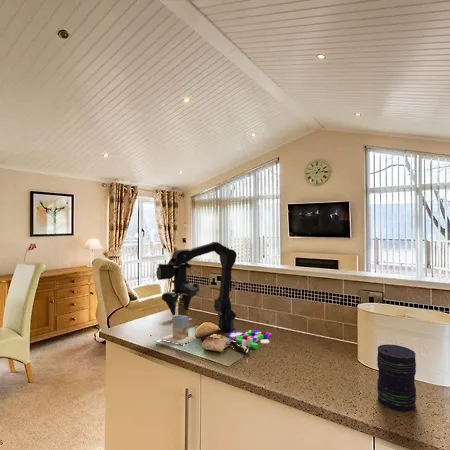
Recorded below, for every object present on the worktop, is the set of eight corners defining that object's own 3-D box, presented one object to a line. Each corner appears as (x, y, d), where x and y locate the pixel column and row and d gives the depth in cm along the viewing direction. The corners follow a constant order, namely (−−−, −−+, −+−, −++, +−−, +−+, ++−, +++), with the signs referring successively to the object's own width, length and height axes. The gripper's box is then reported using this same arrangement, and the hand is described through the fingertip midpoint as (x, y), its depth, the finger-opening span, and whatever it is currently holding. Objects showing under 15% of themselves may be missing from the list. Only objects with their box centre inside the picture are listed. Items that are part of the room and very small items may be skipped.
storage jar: (405, 394, 96) (405, 344, 96) (423, 413, 87) (423, 358, 87) (371, 393, 97) (371, 344, 97) (385, 411, 87) (385, 357, 87)
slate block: (188, 326, 145) (188, 316, 145) (181, 329, 140) (181, 318, 141) (179, 324, 147) (179, 314, 147) (172, 327, 143) (172, 317, 143)
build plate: (199, 337, 146) (199, 335, 146) (183, 345, 136) (183, 343, 136) (178, 333, 152) (178, 330, 152) (161, 340, 142) (161, 338, 142)
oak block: (179, 334, 147) (179, 324, 147) (188, 336, 145) (188, 326, 145) (172, 337, 143) (172, 327, 143) (181, 339, 140) (181, 329, 140)
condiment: (192, 319, 175) (192, 297, 175) (179, 322, 169) (179, 299, 169) (184, 316, 180) (184, 295, 180) (171, 319, 174) (171, 297, 174)
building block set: (246, 329, 159) (246, 320, 159) (281, 339, 145) (281, 329, 145) (209, 342, 141) (209, 332, 141) (245, 355, 127) (245, 344, 127)
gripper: (182, 282, 132) (181, 320, 132) (206, 276, 148) (206, 310, 148) (161, 280, 137) (161, 316, 137) (187, 274, 154) (186, 307, 153)
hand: (180, 312), depth 144 cm, fingers open, 9 cm apart
